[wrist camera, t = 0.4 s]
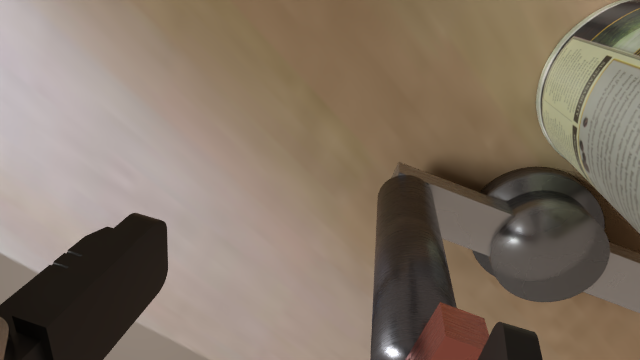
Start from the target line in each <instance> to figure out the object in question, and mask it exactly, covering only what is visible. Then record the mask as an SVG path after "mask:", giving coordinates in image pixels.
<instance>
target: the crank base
mask: <svg viewBox="0 0 640 360" xmlns="http://www.w3.org/2000/svg"><path fill="white" fill-rule="evenodd" d="M542 190H546V191H555V192H560V193H563V194H566V195H568V196H570V197H572V198H574V199H575V200H577V201H578V202H579V203H580V204H582V205H583V207H584V208H585V209H586V210H587V211H588V212H589V214H590V215H591V216H592V217H593V218H594V219H595V220H596V222H597V223H598V224H599V225H600V226H601V227H602V229H603V230H604V228H605V225H604V216H603V212H602V209H601V207H600V205H599V203H598V202H597V200H596V199H595V198H594V196H593V195H592V194H591V193H590V192H589V191H588V190H587V189H586V188H585V187H584V186H583V185H582V184H581V183H580V182H579V181H578V180H577V179H575V178H574V177H572V176H571V175H569V174H567V173H565V172H563V171H560V170H556V169H552V168H547V167H527V168H521V169H517V170H514V171H510V172H508V173H506V174H503V175H501V176H499V177H498V178H496V179H494V180H493V181H491V182H490V183H489V184H487V185H486V186H485V187H484V188H483V189H482V190H481V191H480V192H479V193H482V194H484V195H487V196H490V197H492V198H495V199H498V200H500V201H503V202H507V201H508V200H510V199H512V198H514V197H516V196H518V195H521V194H524V193H527V192H532V191H542ZM473 253H474V255H475V257H476V259H477V261H478V262H479V263H480V265H481V266H482V267H483V268H484V269H485V270H486V271H487V272H489V273H490V274H491V275H493V276H495V274H494V272H493V269H492V266H491V263H490V261H489V258H488V256H487V255H485V254H482V253H479V252H477V251H474V250H473ZM495 277H496V276H495Z"/></svg>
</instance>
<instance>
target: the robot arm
mask: <svg viewBox="0 0 640 360" xmlns="http://www.w3.org/2000/svg"><path fill="white" fill-rule="evenodd" d="M167 272H168V252H167V226H166V223H165V222H164V221H162V220H158V219H155V218H151V217H148V216H145V215H141V214H138V213H132V214H130V215H129V216H128V217H126V218H125V219H124V220H123V221H122V222H121V223H119V224H118V225H117V226H116V227H115V228H110V227H105V228H103V229H101V230H98V231H96V232H94V233H92V234H89V235H87V236H85V237H84V238H82V239H81V240H80V241H79V242H77V243H76V244H75V245H74V246H72V247H71V248H70V249H69V250H68V252H67V253H64V254H63V255H61V256H60V257H59V258H58V259H56V260H55V261H54V263H53V265H49V266H48V267H47V268H45V269H44V270H43V271H42V272H40V273H39V274H38V275H37V276H35V277H34V278H33V279H32V280H30V281H29V282H28V283H27V284H26V285H24V286H23V287H22V288H21V289H19V290H18V291H17V292H16V293H14V294H13V295H12V296H11V297H10V298H8V299H7V300H6V301H5V302H3V303H2V304H1V305H0V360H103V359H104V358H105V357H106V355H107V354H108V353H109V352H110V351H111V349H112V348H113V347H114V346H115V345H116V343H117V342H118V341H119V340H120V339H121V337H122V336H123V335H124V334H125V333H126V331H127V330H128V329H129V328H130V326H131V325H132V324H133V323H134V322H135V320H136V319H137V318H138V317H139V316H140V314H141V313H142V312H143V311H144V310H145V308H146V307H147V306H148V305H149V304H150V302H151V301H152V300H153V299H154V298H155V296H156V295H157V294H158V293H159V291H160V290H161V288H162V286H163V284H164V282H165V279H166V276H167ZM478 360H542V355H541V350H540V345H539V341H538V337H537V335H536V333H535V332H532V331H529V330H526V329H522V328H519V327H515V326H512V325H509V324H505V323H502V322H498V323H497V324H496V325H495V326H494V328H493V330H492V332H491V334H490V336H489V338H488V340H487V342H486V344H485V346H484V348H483V350H482V352H481V354H480V356H479V358H478Z"/></svg>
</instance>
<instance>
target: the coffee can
mask: <svg viewBox="0 0 640 360" xmlns="http://www.w3.org/2000/svg"><path fill="white" fill-rule="evenodd" d="M536 110H537V115H538V121H539V124H540V127H541V129H542V132H543V134H544V136H545V137H546V139H547V140H548V142H549V143H550V145H551V146H552V147H553V148H554V149H555V150H556V151H557V152H558V153H559V154H560V155H561V156H562V157H564V158H565V159H567V160H568V161H569V162H570V163H571V164H572V165H573V166H574V167H575V168H576V169H577V170H578V171H579V172H580V173H581V175H583V176H584V177H585V178H586V179H587V180H588V182H589V183H590V184H591V185H592V186H593V187H594V188H595V189H596V190H597V191H598V192H599V193H600V194H601V195H602V196H603V197H604V198H605V199H606V200H607V201H608V202H609V203H610V204H611V205H612V206H613V207H614V208H615V209H616V210H617V211H618V212H619V213H620V214H621V215H622V216H623V217H624V218H625V219H626V220H627V221H628V222H629V223H630V224H631V225H632V226H633V227H634V228H635V230H636V231H637V232H638V233H639V234H640V0H620V1H617V2H614V3H611V4H609V5H607V6H605V7H603V8H601V9H599V10H597V11H596V12H594V13H592V14H591V15H589V16H588V17H586V18H585V19H584V20H582V21H581V22H580V23H578V24H577V25H576V26H575V27H574V28H572V29H571V30H570V31H569V32H568V33H567V34H566V35H565V36H564V37H563V38H562V40H561V41H560V42H559V43H558V45H557V46H556V48H555V49H554V51H553V52H552V54H551V55H550V57H549V58H548V60H547V62H546V64H545V66H544V69H543V71H542V74H541V77H540V80H539V84H538V89H537V96H536Z"/></svg>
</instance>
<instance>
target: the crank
mask: <svg viewBox="0 0 640 360" xmlns="http://www.w3.org/2000/svg"><path fill="white" fill-rule="evenodd" d="M442 239H445V240H448V241H450V242H453V243H456V244H458V245H461V246H463V247H466V248H469V249H471V250H474V251H477V252H479V253H482V254H485V255H487V256H488V258H489V261H490V263H491V266H492V269H493V272H494V274H495V276H496V278H497V280H498V281H499V283H500V284H501V285H502V286H503V287H504V288H505V289H506V290H508V291H509V292H510V293H512V294H514V295H515V296H518V297H520V298H523V299H526V300H530V301H536V302H553V301H560V300H564V299H567V298H571V297H573V296H575V295H578V294H580V293H581V292H585V293H588V294H590V295H593V296H596V297H598V298H601V299H604V300H606V301H609V302H611V303H614V304H617V305H619V306H622V307H625V308H627V309H630V310H633V311H635V312H638V313H640V254H639V253H637V252H634V251H631V250H629V249H626V248H624V247H621V246H618V245H616V244H613V243H610V242H609V240H608V238H607V235H606V233H605V232H604V230H603V229H602V227H601V226H600V225H599V224H598V223H597V222H596V220H595V219H594V218H593V217H592V216H591V215H590V214H589V212H588V211H587V210H586V209H585V208H584V207H583V205H582V204H580V203H579V202H578V201H577V200H575V199H574V198H572V197H570V196H568V195H566V194H563V193H560V192H555V191H546V190H542V191H532V192H527V193H524V194H521V195H518V196H516V197H514V198H512V199H510V200H508V201H507V202H503V201H500V200H498V199H495V198H492V197H490V196H487V195H484V194H482V193H479V192H477V191H474V190H471V189H469V188H466V187H463V186H461V185H458V184H456V183H453V182H450V181H448V180H445V179H442V178H440V177H437V176H435V175H432V174H429V173H427V172H424V171H421V170H419V169H416V168H414V167H411V166H408V165H406V164H403V163H400V162H399V163H398V165H397V167H396V169H395V171H394V173H393V175H392V178H391V179H389V180H388V181H387V182H385V183H384V184H383V186H382V187H381V189H380V191H379V193H378V202H377V224H376V247H375V270H374V292H373V315H372V337H371V360H478V358H479V356H480V354H481V352H482V350H483V348H484V346H485V344H486V342H487V340H488V338H489V334H488V330H487V327H486V323H485V320H484V318H481V317H479V316H476V315H473V314H471V313H468V312H465V311H463V310H460V309H457V307H456V303H455V298H454V293H453V289H452V284H451V279H450V274H449V270H448V265H447V260H446V255H445V251H444V246H443V241H442Z"/></svg>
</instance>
